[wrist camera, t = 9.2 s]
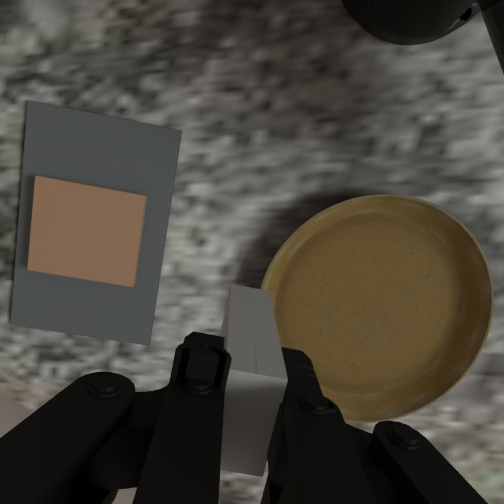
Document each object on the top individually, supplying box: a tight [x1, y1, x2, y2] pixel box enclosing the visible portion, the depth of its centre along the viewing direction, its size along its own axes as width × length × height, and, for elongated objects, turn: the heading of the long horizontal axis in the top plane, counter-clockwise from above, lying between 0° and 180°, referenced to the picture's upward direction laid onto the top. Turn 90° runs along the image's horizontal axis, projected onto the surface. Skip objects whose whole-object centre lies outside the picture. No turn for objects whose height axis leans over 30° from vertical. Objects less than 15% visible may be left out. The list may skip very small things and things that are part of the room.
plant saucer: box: [260, 194, 494, 423], centre depth 43 cm, size 24×24×3 cm
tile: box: [27, 175, 147, 287], centre depth 40 cm, size 9×1×10 cm
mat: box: [10, 100, 182, 345], centre depth 41 cm, size 22×14×1 cm, turn 169°
